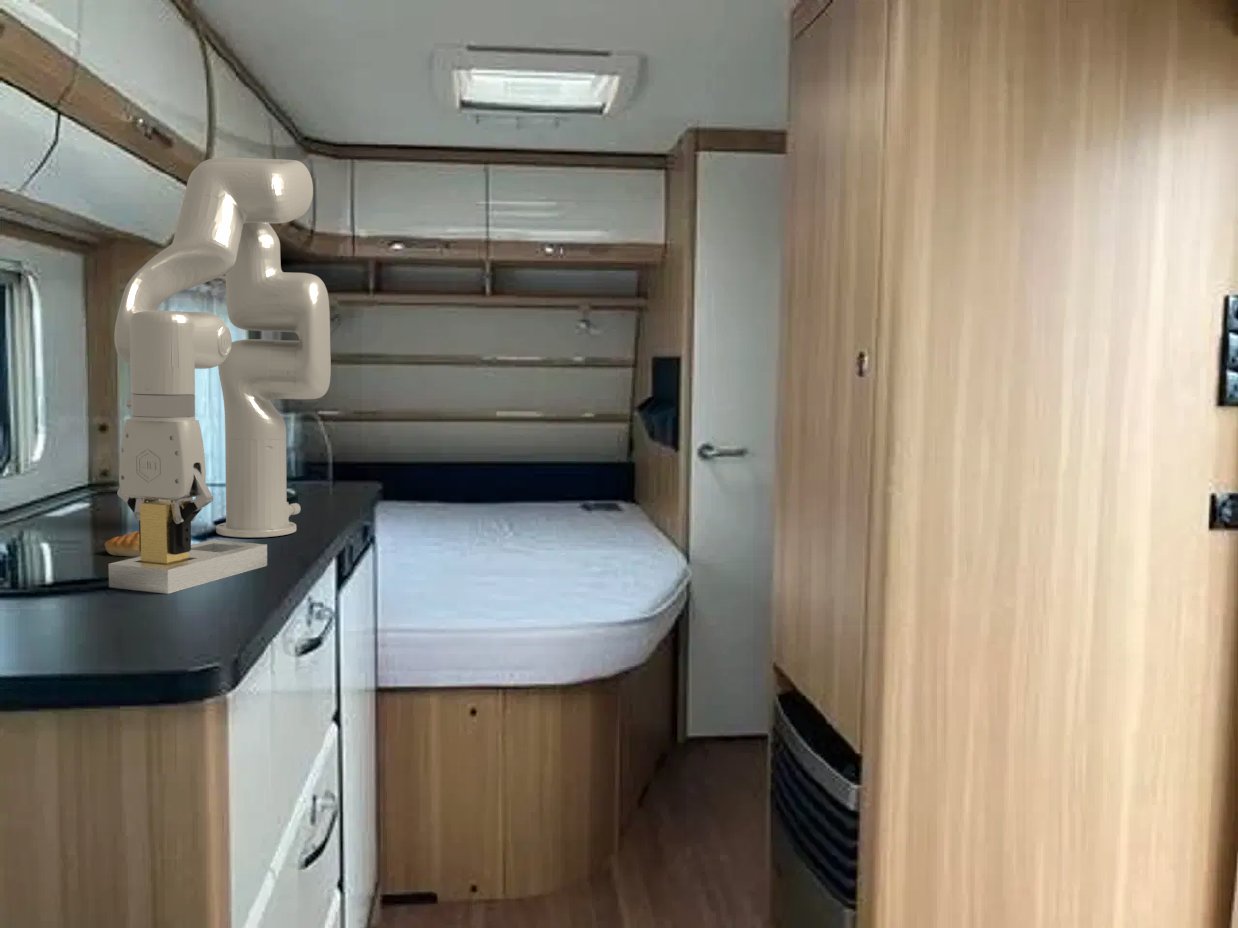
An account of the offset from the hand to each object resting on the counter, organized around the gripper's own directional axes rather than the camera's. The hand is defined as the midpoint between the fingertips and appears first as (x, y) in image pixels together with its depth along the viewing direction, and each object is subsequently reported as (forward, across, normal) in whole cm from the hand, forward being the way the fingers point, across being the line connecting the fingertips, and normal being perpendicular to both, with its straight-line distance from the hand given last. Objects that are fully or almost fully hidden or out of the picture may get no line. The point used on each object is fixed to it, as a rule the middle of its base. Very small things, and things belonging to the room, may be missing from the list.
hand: (165, 550), depth 142 cm
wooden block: (+2, 0, 0) cm, 2 cm away
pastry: (+5, -17, +16) cm, 23 cm away
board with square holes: (+4, 0, +5) cm, 7 cm away
